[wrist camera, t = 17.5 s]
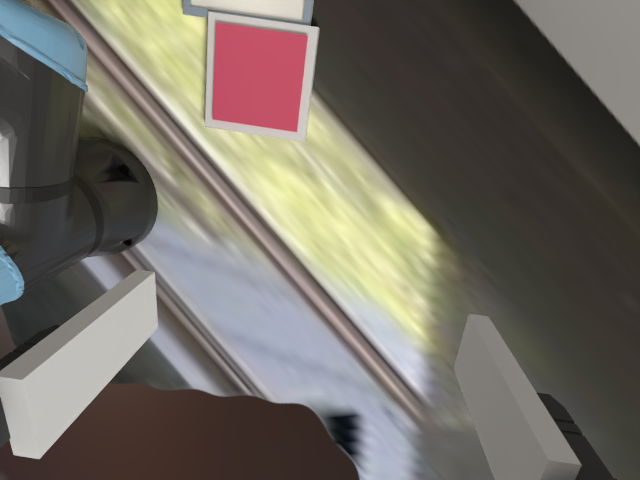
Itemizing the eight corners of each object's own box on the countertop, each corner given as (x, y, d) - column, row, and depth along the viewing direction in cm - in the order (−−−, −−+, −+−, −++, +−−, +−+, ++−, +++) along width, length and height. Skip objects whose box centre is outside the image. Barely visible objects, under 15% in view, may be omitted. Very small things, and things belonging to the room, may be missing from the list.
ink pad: (208, 126, 45) (203, 126, 44) (212, 14, 41) (207, 10, 40) (305, 141, 45) (304, 142, 43) (319, 29, 41) (318, 26, 39)
